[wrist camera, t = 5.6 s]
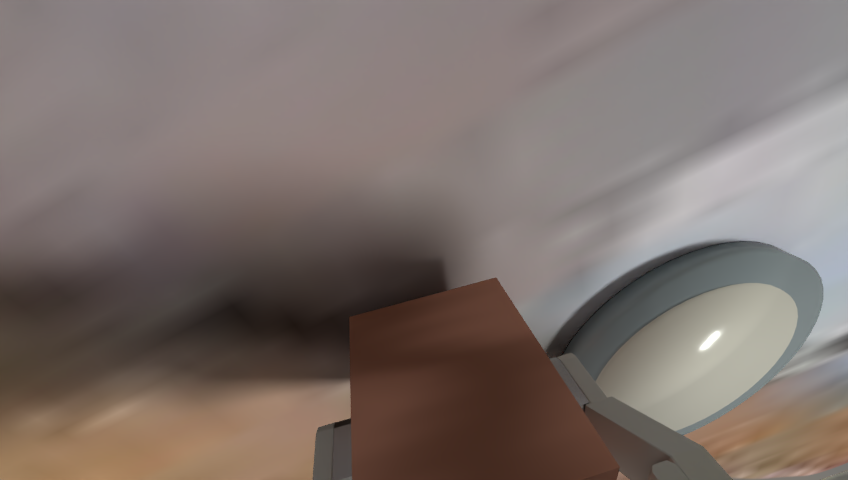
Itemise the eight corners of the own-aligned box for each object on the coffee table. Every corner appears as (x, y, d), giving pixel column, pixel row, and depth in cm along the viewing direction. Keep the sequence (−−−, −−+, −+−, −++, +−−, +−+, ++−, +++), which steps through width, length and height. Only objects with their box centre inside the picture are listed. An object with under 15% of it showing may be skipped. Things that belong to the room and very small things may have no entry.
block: (384, 406, 14) (408, 626, 8) (348, 316, 11) (353, 554, 6) (502, 371, 14) (593, 560, 9) (495, 277, 11) (620, 467, 6)
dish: (548, 459, 21) (558, 480, 20) (554, 289, 14) (570, 308, 13) (747, 396, 22) (767, 413, 21) (849, 208, 15) (885, 220, 14)
